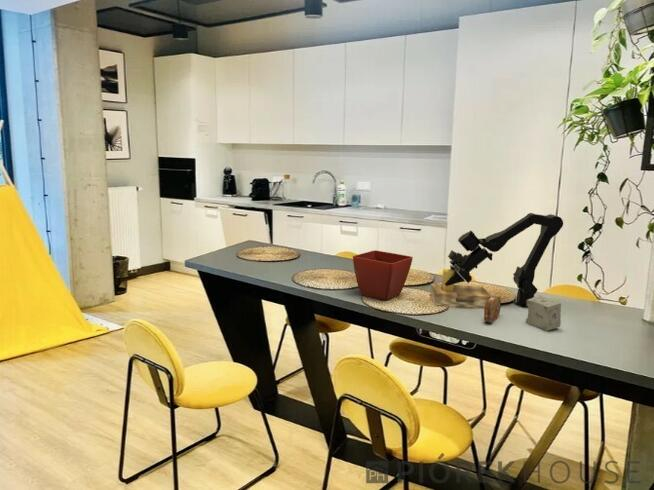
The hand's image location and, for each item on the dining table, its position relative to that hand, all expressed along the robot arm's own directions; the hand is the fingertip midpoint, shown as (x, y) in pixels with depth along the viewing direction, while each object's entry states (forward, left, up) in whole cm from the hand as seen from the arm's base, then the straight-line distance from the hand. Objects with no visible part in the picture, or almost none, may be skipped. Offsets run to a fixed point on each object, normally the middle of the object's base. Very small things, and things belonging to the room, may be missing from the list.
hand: (444, 283), depth 216 cm
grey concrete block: (-36, -19, -8) cm, 41 cm away
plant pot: (+13, +23, -8) cm, 27 cm away
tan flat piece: (-3, -6, -7) cm, 10 cm away
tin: (-25, -5, -8) cm, 26 cm away
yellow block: (-1, -1, -6) cm, 7 cm away
